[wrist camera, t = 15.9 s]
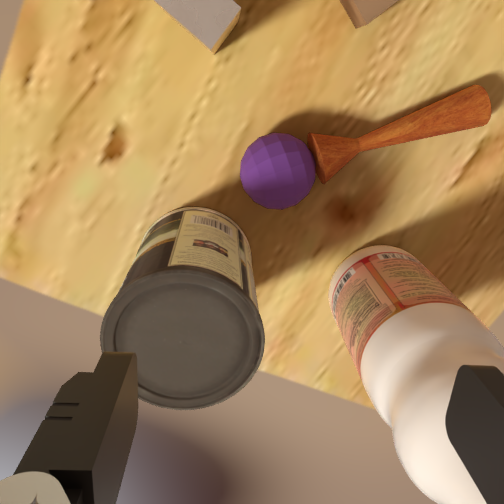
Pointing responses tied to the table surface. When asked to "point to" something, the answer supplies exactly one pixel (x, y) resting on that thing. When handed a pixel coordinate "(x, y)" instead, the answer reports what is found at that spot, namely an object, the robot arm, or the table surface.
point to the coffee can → (189, 311)
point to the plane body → (365, 10)
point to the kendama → (347, 148)
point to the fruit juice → (411, 358)
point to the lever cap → (204, 19)
